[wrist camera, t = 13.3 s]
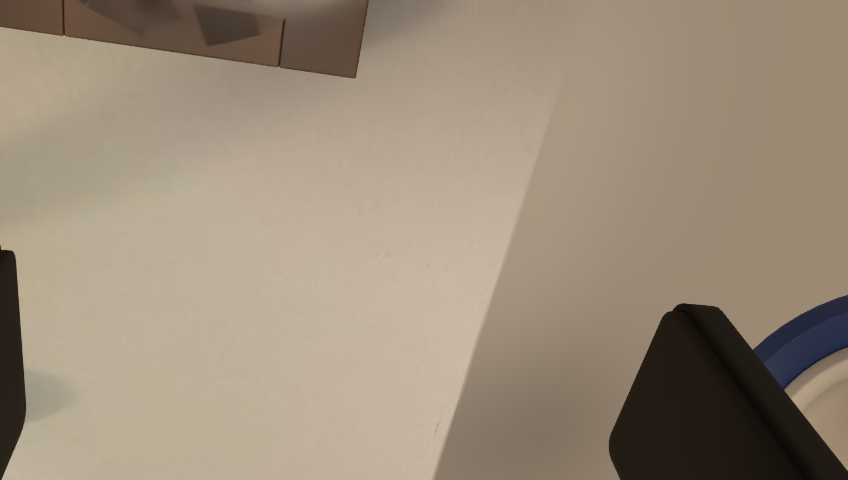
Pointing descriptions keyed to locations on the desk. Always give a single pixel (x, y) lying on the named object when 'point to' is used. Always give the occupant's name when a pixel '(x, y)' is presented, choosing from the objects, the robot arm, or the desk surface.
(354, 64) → the socket plate
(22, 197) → the desk surface
